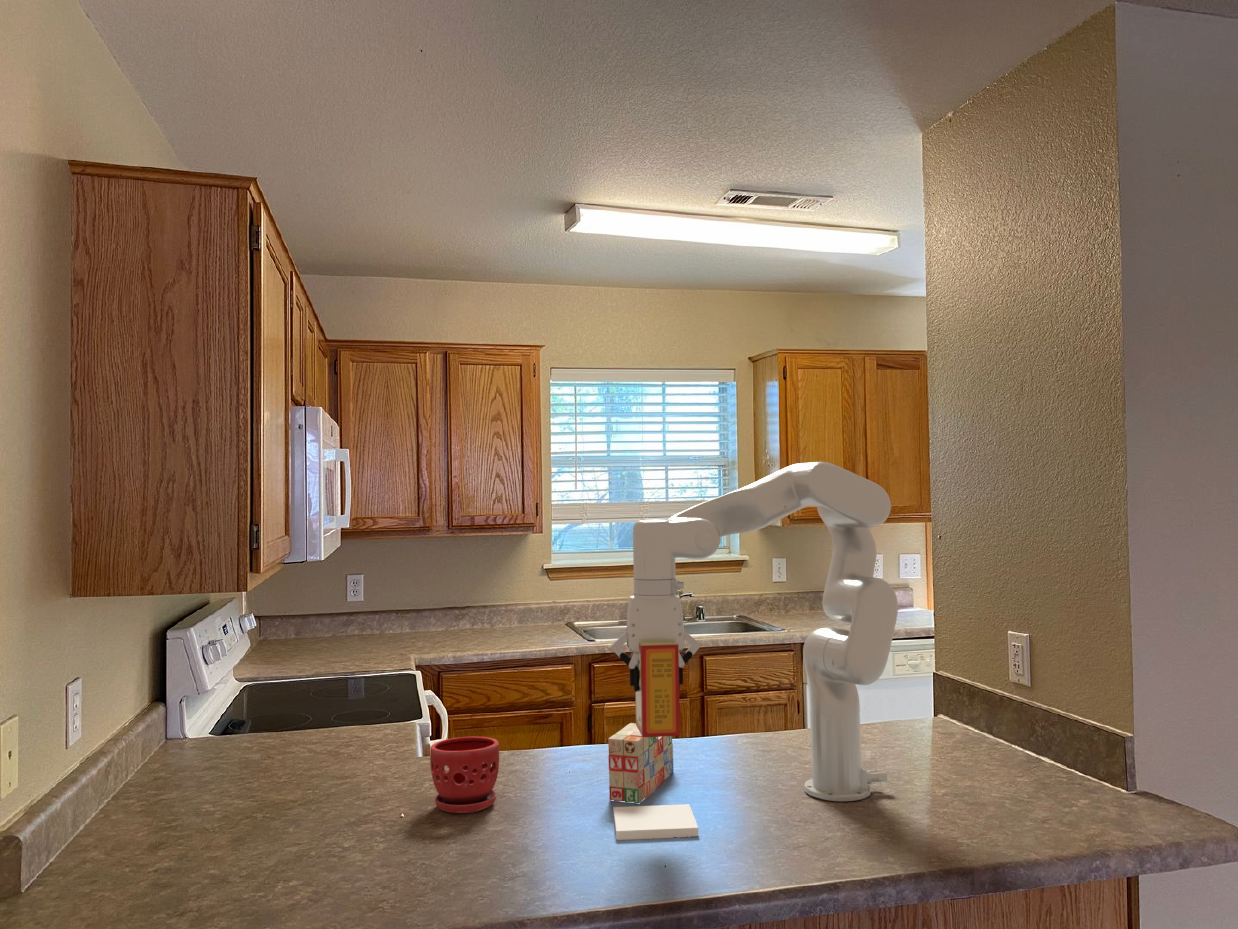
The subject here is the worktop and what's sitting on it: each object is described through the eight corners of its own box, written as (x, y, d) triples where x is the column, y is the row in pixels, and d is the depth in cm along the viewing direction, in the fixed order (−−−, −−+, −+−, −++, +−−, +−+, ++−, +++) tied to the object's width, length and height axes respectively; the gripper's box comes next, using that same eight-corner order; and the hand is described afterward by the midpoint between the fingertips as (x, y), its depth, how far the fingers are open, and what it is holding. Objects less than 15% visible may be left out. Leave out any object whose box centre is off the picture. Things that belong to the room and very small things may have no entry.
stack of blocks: (646, 770, 192) (644, 712, 193) (674, 772, 190) (672, 714, 191) (609, 802, 172) (607, 737, 173) (639, 805, 170) (638, 739, 171)
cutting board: (689, 812, 165) (689, 804, 165) (698, 836, 153) (698, 827, 153) (613, 815, 165) (613, 807, 165) (616, 840, 153) (616, 831, 153)
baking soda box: (635, 724, 164) (634, 636, 165) (671, 722, 165) (669, 634, 165) (642, 737, 154) (641, 643, 155) (680, 735, 155) (678, 642, 156)
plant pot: (514, 804, 172) (513, 740, 173) (458, 823, 163) (457, 756, 163) (472, 790, 181) (471, 730, 182) (417, 807, 172) (416, 744, 172)
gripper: (699, 586, 165) (701, 684, 164) (605, 587, 164) (606, 686, 163) (706, 589, 157) (708, 692, 157) (607, 591, 156) (608, 695, 156)
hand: (656, 688), depth 160 cm, fingers closed on baking soda box, 6 cm apart
